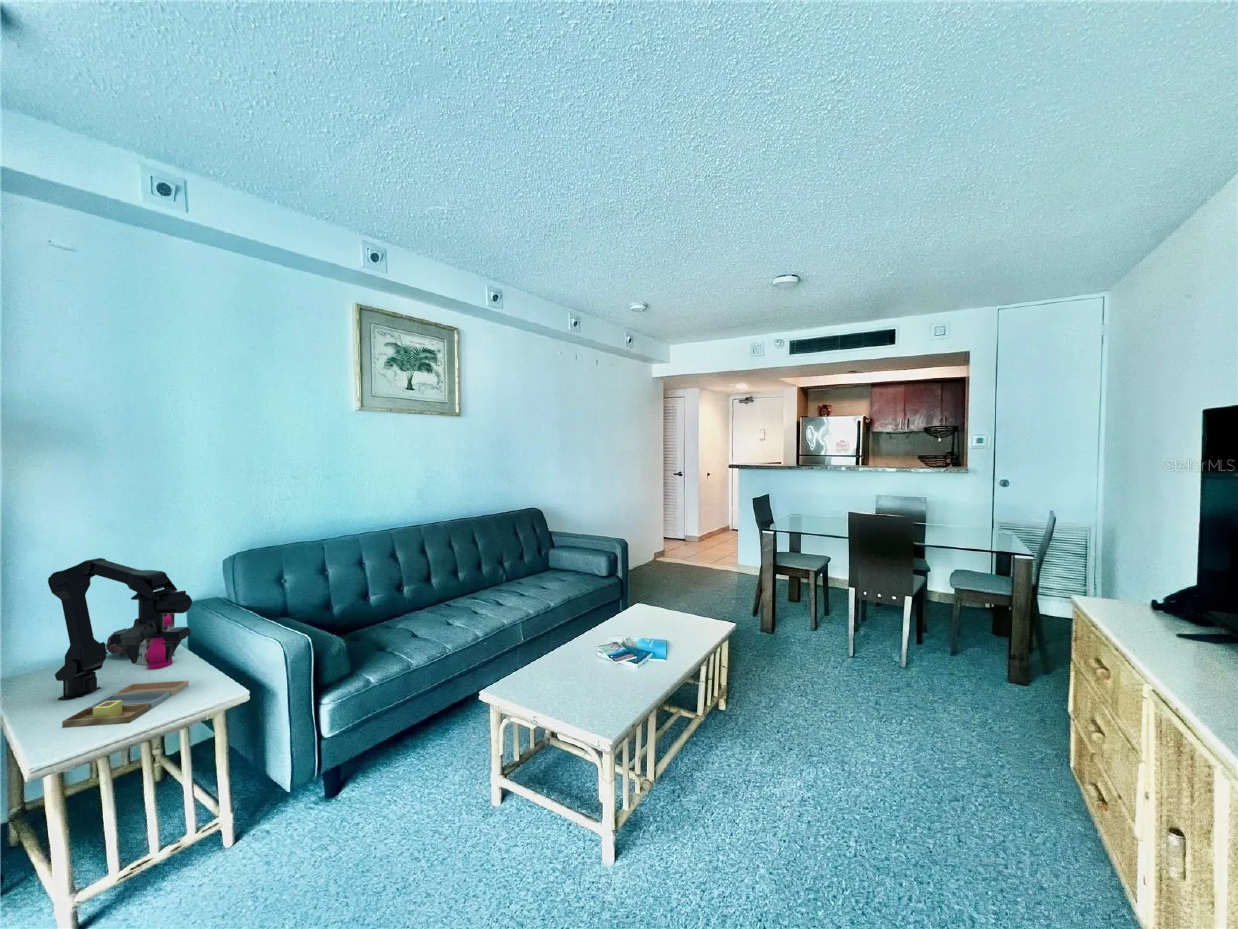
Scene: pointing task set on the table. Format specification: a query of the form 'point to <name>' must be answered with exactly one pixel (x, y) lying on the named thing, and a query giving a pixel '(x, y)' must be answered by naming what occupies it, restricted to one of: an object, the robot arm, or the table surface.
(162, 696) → the tray
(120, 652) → the pine cone
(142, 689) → the tray
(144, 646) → the coffee box
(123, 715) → the tray
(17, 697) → the table surface
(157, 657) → the pepper mill
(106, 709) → the letter cube
